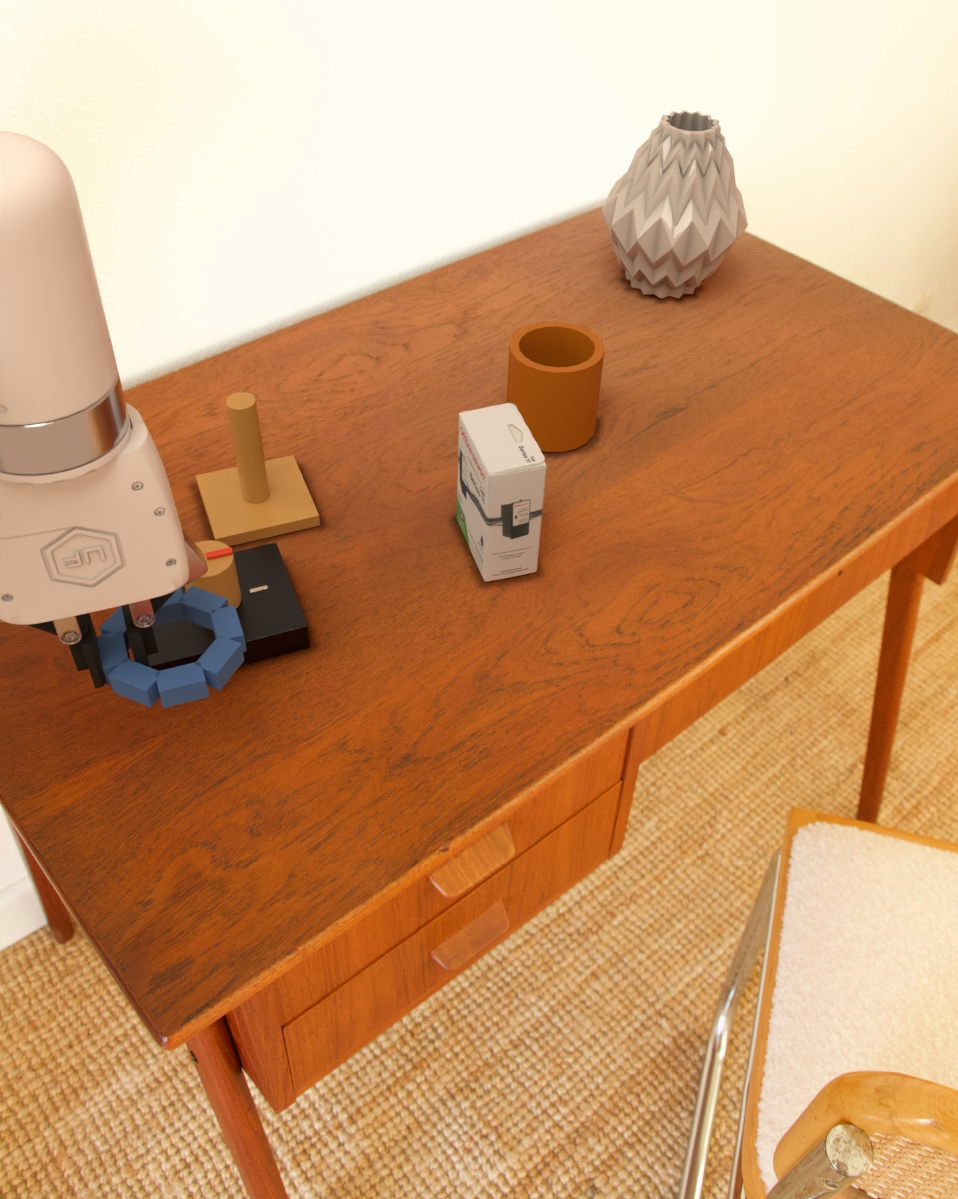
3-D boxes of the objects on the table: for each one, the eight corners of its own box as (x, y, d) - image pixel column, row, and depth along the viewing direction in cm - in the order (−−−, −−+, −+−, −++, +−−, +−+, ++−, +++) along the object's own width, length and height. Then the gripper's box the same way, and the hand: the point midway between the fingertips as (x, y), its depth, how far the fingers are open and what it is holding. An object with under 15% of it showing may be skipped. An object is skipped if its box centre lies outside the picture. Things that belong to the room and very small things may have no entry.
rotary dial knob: (194, 624, 77) (183, 579, 74) (184, 589, 80) (173, 544, 76) (246, 611, 78) (238, 566, 75) (235, 577, 81) (226, 532, 77)
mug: (630, 410, 103) (643, 331, 96) (558, 465, 96) (567, 384, 90) (560, 376, 107) (568, 298, 100) (486, 426, 100) (489, 346, 94)
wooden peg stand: (217, 549, 87) (195, 443, 79) (197, 485, 92) (174, 380, 84) (320, 525, 89) (309, 420, 81) (294, 464, 95) (281, 361, 87)
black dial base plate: (153, 688, 76) (146, 665, 74) (133, 598, 82) (126, 574, 80) (310, 647, 79) (307, 624, 77) (279, 563, 86) (276, 540, 84)
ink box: (453, 518, 90) (455, 407, 82) (506, 509, 92) (513, 398, 83) (483, 585, 85) (488, 473, 76) (539, 574, 86) (550, 462, 77)
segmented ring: (113, 721, 59) (107, 704, 58) (95, 622, 64) (89, 604, 63) (257, 685, 61) (254, 667, 60) (228, 592, 67) (225, 574, 66)
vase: (721, 252, 127) (754, 96, 113) (739, 321, 115) (778, 156, 102) (590, 245, 127) (609, 88, 114) (595, 314, 115) (617, 148, 102)
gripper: (-141, 492, 44) (-16, 748, 57) (226, 427, 49) (264, 677, 62) (-137, 398, 49) (-23, 653, 62) (196, 346, 54) (237, 594, 67)
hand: (120, 663), depth 62 cm, fingers closed on segmented ring, 2 cm apart
